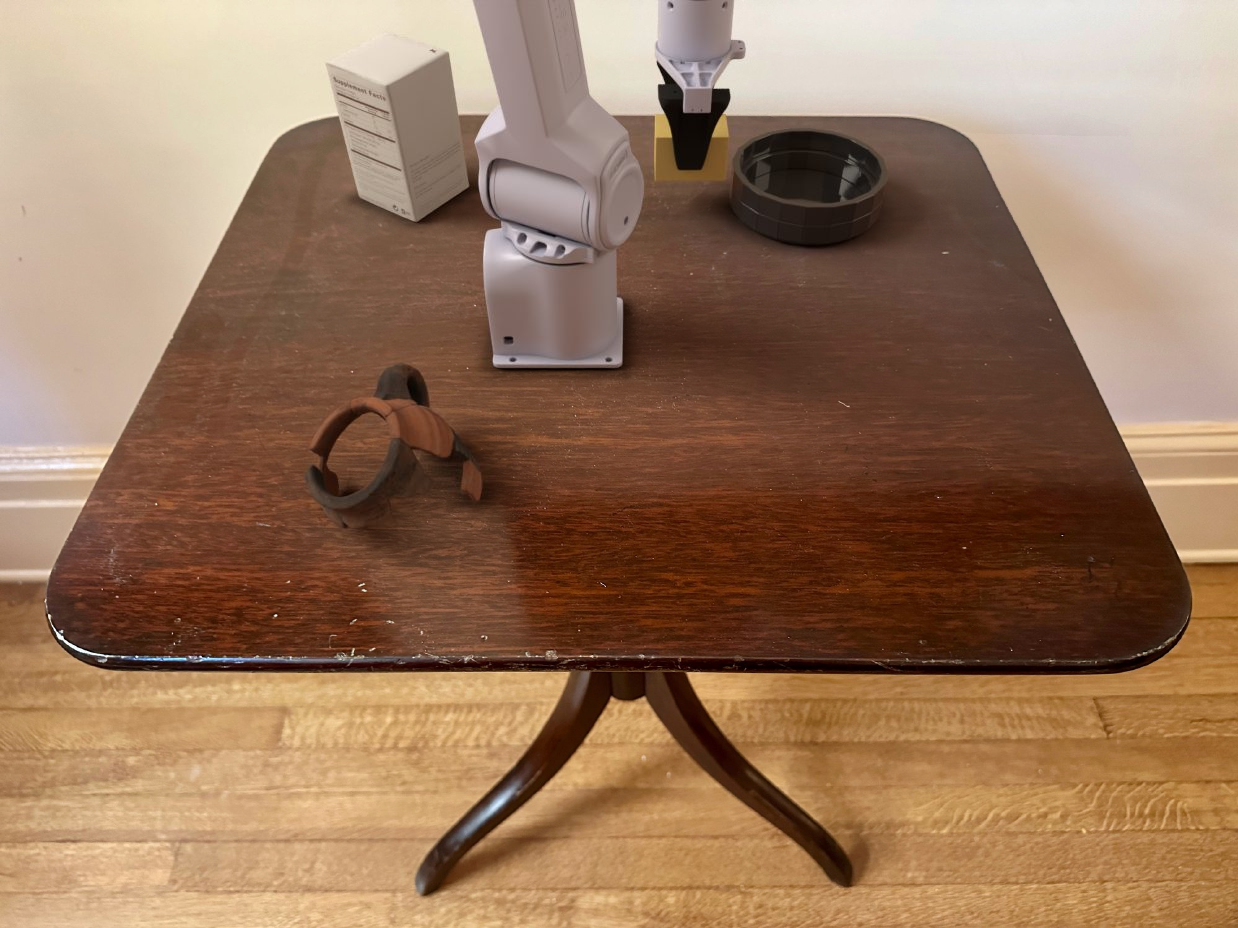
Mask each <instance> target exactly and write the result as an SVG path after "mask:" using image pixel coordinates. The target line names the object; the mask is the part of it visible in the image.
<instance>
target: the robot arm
mask: <svg viewBox="0 0 1238 928" xmlns="http://www.w3.org/2000/svg"><path fill="white" fill-rule="evenodd" d="M472 3H473V7H474V11H475V14H476V18H477V22H478V27H479V29H480V34H481V38H482V40H483V45H484V49H485V52H486V57H487V60H488V64H489V68H490V72H491V75H492V79H493V83H494V86H495V87H494V88H495V90H496V94H497V98H498V102H499V104H498V105H497V106H496V107H495V108H494V109H493V110H492V111H491V113H489V115H488V116H487V118H485V120H484V121H483V123H482V125H481V127H480V129H479V131H478V133H477V135H476V138H475V140H474V142H473V143H474V146H475V150H476V153H477V157H478V164H479V165H478V166H479V168H478V190H479V195H480V200H481V203H482V206H483V208H484V211H485V212H486V213H487V214H488V215H489V216H490V217H492V218H493V219H496V220H499V221H500V225H501V227H499V228H493V229H488V230H487V231H486V233H485V237H484V242H483V257H482V265H483V266H482V270H483V288H484V296H485V303H486V309H487V310H486V311H487V317H488V318H487V319H488V324H489V331H490V338H491V339H490V340H491V345H492V353H493V356H492V365H493V366H494V367H495V368H499V369H619V368H620V367H622V365H623V346H624V343H623V342H624V341H623V339H624V337H623V335H624V334H623V333H624V301H623V299H622V297H618V268H617V267H618V266H617V265H618V264H617V261H618V259H617V258H618V257H617V249H619V248H620V247H621V245H623V244H624V243H625V242H626V241H627V240H628V238H629V237H630V235H631V234H632V233H633V232H634V229H635V228H636V225H637V222H638V220H639V217H640V214H641V210H642V207H643V202H644V196H645V179H644V175H643V171H642V169H641V166H640V163H639V161H638V160H637V157H636V156H635V155H634V154H633V151H632V148H631V142H630V136H629V131H628V130H627V129H626V127H624V126H623V125H622V124H621V123H620V122H619V121H618V120H617V119H616V118H615V117H614V116H613V115H612V114H610V113H609V111H607V110H606V109H605V108H604V107H603V106H601V105H600V104H599V103H598V102H597V100H595V99H594V97H593V96H591V94H590V90H589V89H590V88H589V83H588V76H587V71H586V64H585V59H584V52H583V46H582V41H581V35H580V29H579V24H578V23H579V22H578V16H577V11H576V3H575V0H472ZM734 7H735V0H658V3H657V40H656V41H655V43H654V57H655V59H656V66H657V68H658V70H659V72H660V74H661V77H662V80H663V83H658V84H657V100H658V104H659V105H660V108H661V110H662V112H663V114H665V115H666V117H667V120H668V123H669V126H670V130H671V135H672V142H673V150H674V157H675V162H676V166H677V169H678V170H702V168H703V165H704V162H705V159H706V156H707V153H708V149H709V145H710V142H711V138H712V135H713V132H714V130H715V127H716V125H717V123H718V121H719V119H720V117H721V116H722V114H725V112H726V110H727V109H728V108H729V105H730V103H731V98H732V96H731V95H732V94H731V89H730V88H729V87H728V88H727V87H726V88H722V87H721V88H715V86H716V84H717V82H718V80H719V79H720V77H721V76H722V74H723V73H724V72H725V70H726V68H727V67H728V65H729V64H730V62H731V61H733V60H743V59H744V58H746V51H747V48H746V43H745V42H744V40H742V39H732V34H733V33H732V32H733V19H734Z"/></svg>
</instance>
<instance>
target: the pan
mask: <svg viewBox="0 0 1238 928" xmlns="http://www.w3.org/2000/svg"><path fill="white" fill-rule="evenodd" d="M889 174H890V171H889V168H888V165H887V162H886V160H885V158H884V157H883V156H882V155H881V154H880V153H879V152H878V151H877V150H876V149H875V147H873V146H871V145H869V144H867V143H866V142H864V141H863V140H860V139H858V138H856V137H854V136H852V135H851V136H850V135H847V134H844V133H841V132H837V131H835V130H828V129H822V128H821V129H820V128H815V127H787V128H781V129H775V130H769V131H765V132H764V133H763V132H762V133H760V134H757V135H756V136H753V137H750V138H749V139H748V140H746V141H745V142H744V143H742V144H741V145H740V146H739V147H737V149H736V151H735V153H734V155H733V156H732V159H731V168H730V179H729V190H728V191H729V192H728V196H729V205H730V208H731V210H732V211H733V212H734V214H735V215H736V217H737V218H738V220H739V221H741V222H742V223H744V224H745V225H746V226H747V227H748V228H750V229H751V230H752V231H754V232H756V233H758V234H760V235H762V236H764V237H767V238H769V239H772V240H775V241H779V242H781V243H786V244H793V245H798V246H799V245H800V246H825V245H832V244H837V243H841V242H845V241H847V240H850V239H853V238H855V237H857V236H860V235H861V234H863V233H866V232H867V231H868V230H869V229H870V228H871V227H872V226H873V225H874V224H875V223H876V222H877V221H878V219H879V217H880V213H881V208H882V205H883V199H884V195H885V191H886V187H887V183H888V179H889Z"/></svg>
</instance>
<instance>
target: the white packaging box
mask: <svg viewBox="0 0 1238 928" xmlns="http://www.w3.org/2000/svg"><path fill="white" fill-rule="evenodd" d="M450 56H451V55H450V52H449V51H447V50H445V49H443V48H440V47H437V46H435V45H431V44H428V43H425V42H423V41H422V42H421V41H419V40H415V39H412V38H409V37H406V36H403V35H400V34H396V33H394V32H391V31H385V32H382V33H381V34H378V35H377V36H375V37H373V38H371V39H369V40H366V41H365V42H363V43H361V44H359V45H357V46H355V47H353V48H351V49H349V50H347V51H345V52H342V53H341V54H339V55H337V56H334V57H333V58H330V59H328V60H326V61H325V67H326V70H327V75H328V78H329V79H328V80H329V83H330V88H331V91H332V94H333V99H334V102H335V107H336V111H337V114H338V118H339V123H340V127H341V131H342V135H343V139H344V143H345V145H346V151H347V154H348V158H349V162H350V166H351V171H352V175H353V180H354V182H355V183H354V184H355V186H356V190H357V194H358V197H359V198H360V199H362V200H364V201H365V202H368V203H370V204H372V205H375V206H377V207H379V208H382V209H383V210H386V211H388V212H390V213H393V214H395V215H397V216H399V217H402V218H405V219H407V220H410V221H411V222H414V223H418V222H419V221H421V220H422V219H423V218H425V217H426V216H427V215H429V214H431V213H432V212H433V211H435V210H437V209H438V208H440V207H441V206H442V205H444V204H446V203H447V202H449V201H450V200H452V199H453V198H454V197H456V196H457V195H459V194H461V193H462V192H464V191H465V190H466V189H468V188H469V187H470V184H469V176H468V169H467V164H466V163H467V162H466V157H465V149H464V144H463V137H462V129H461V123H460V116H459V109H458V104H457V103H458V102H457V97H456V91H455V85H454V84H455V83H454V77H453V70H452V64H451V57H450Z"/></svg>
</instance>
